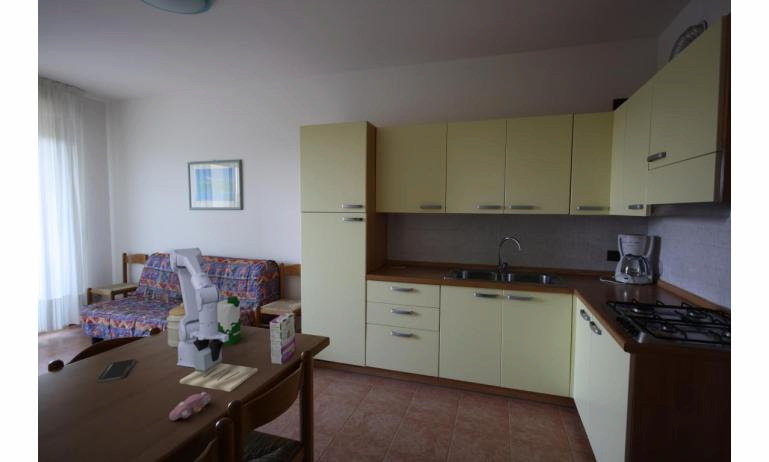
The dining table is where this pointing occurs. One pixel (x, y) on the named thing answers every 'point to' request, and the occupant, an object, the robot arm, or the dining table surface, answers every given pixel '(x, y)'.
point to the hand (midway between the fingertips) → (210, 359)
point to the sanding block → (205, 360)
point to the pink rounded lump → (190, 406)
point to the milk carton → (229, 319)
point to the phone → (116, 370)
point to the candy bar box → (282, 338)
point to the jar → (175, 325)
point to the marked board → (220, 377)
